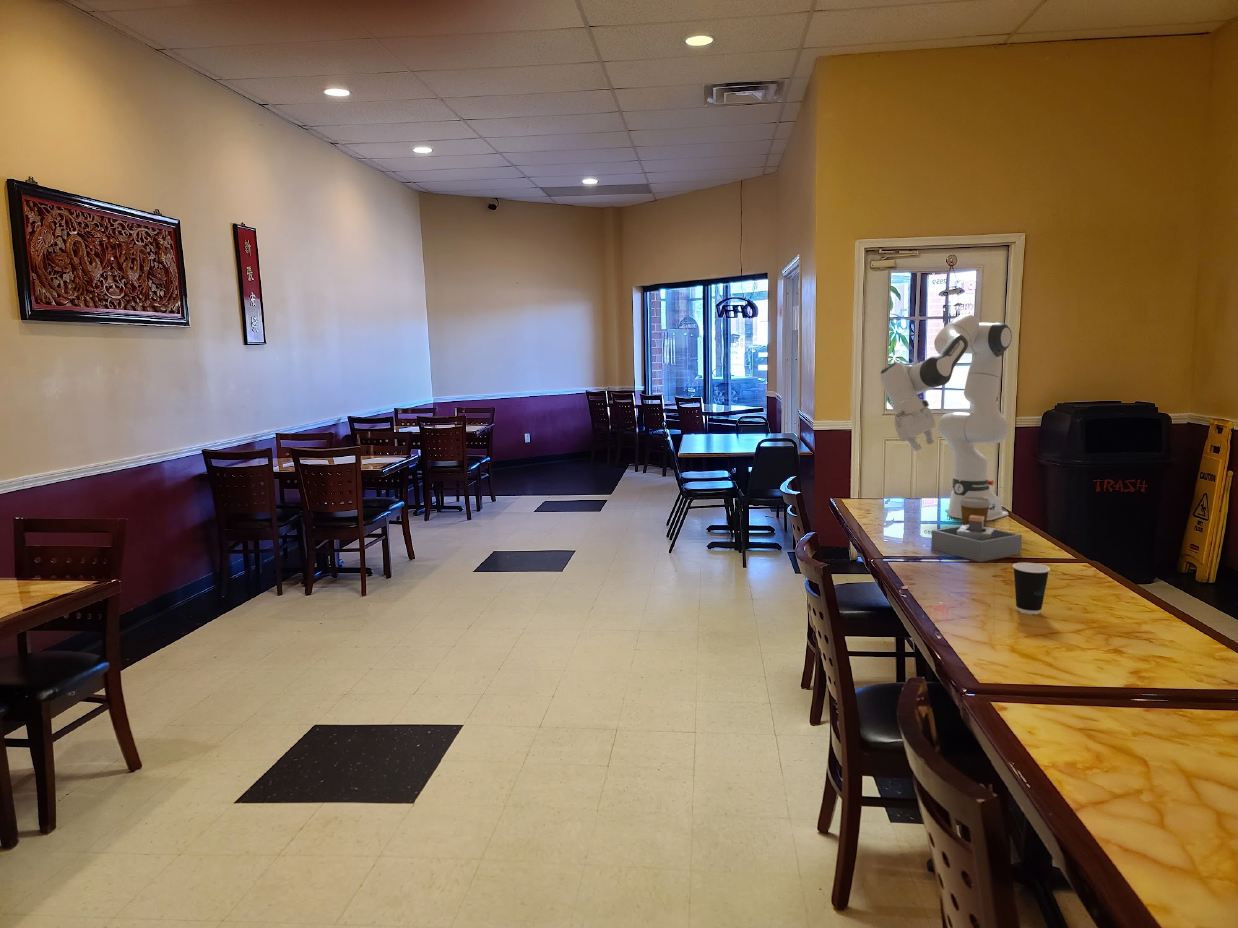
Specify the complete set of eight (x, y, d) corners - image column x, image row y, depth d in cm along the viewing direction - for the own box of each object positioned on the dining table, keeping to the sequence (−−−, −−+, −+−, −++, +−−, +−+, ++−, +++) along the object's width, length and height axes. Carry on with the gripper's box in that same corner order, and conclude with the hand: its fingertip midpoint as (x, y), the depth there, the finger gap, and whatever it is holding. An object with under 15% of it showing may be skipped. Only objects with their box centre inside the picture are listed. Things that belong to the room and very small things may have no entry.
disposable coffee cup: (993, 536, 257) (995, 501, 256) (965, 537, 258) (966, 502, 256) (981, 530, 267) (982, 496, 265) (953, 530, 267) (955, 496, 265)
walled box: (970, 541, 252) (971, 523, 251) (1020, 553, 236) (1021, 534, 235) (931, 548, 244) (931, 530, 243) (980, 561, 228) (981, 542, 227)
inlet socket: (961, 543, 246) (962, 524, 245) (994, 546, 241) (995, 528, 240) (956, 549, 238) (957, 530, 237) (989, 553, 233) (990, 534, 232)
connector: (969, 539, 242) (971, 515, 241) (983, 541, 240) (984, 516, 239) (967, 542, 239) (969, 517, 238) (981, 543, 237) (982, 518, 236)
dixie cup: (1047, 618, 179) (1050, 573, 178) (1009, 613, 183) (1011, 568, 182) (1047, 608, 186) (1050, 564, 185) (1010, 603, 190) (1013, 560, 189)
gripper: (901, 411, 249) (919, 451, 248) (929, 400, 263) (946, 437, 262) (885, 418, 254) (902, 456, 253) (913, 406, 267) (929, 443, 266)
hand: (924, 446), depth 257 cm, fingers open, 8 cm apart
